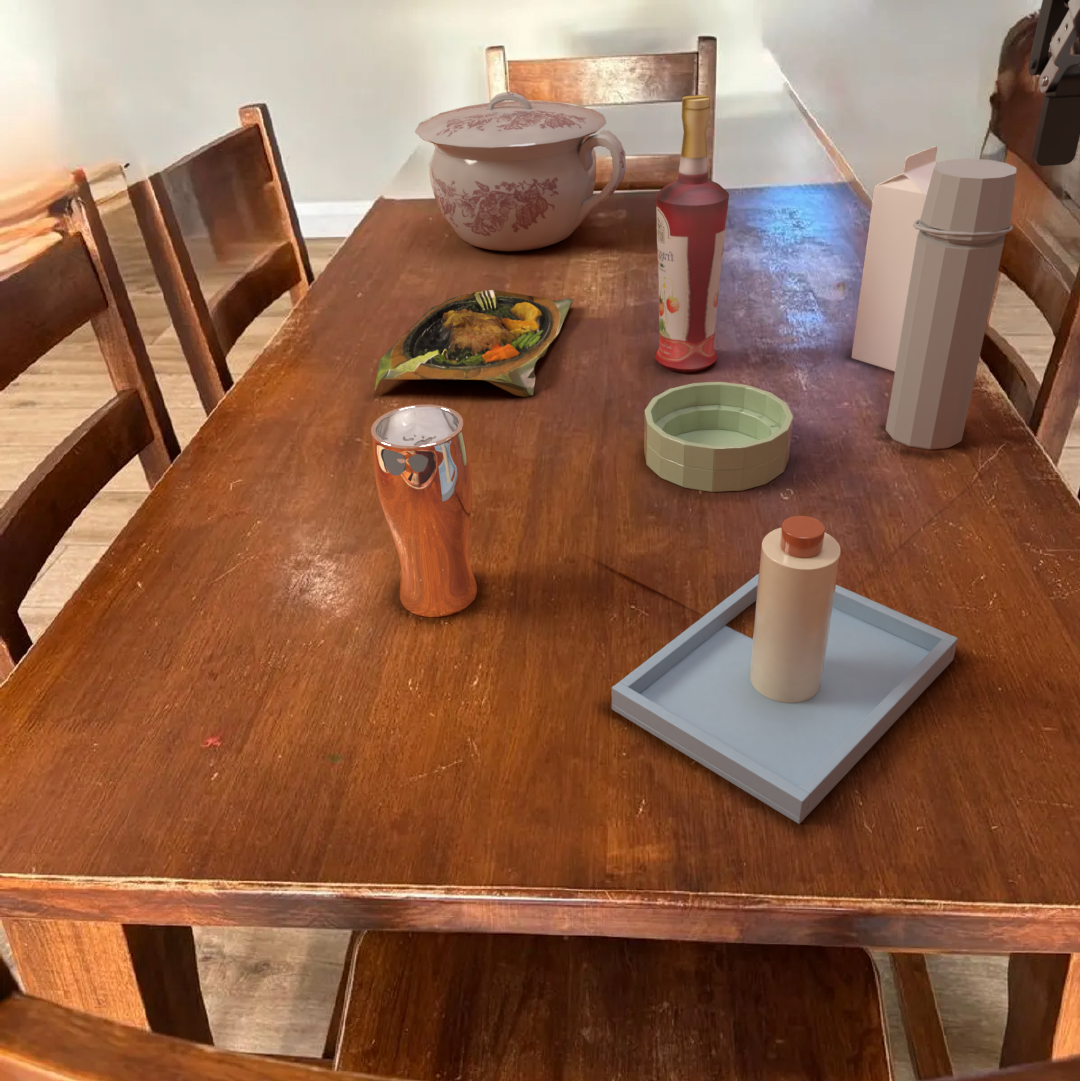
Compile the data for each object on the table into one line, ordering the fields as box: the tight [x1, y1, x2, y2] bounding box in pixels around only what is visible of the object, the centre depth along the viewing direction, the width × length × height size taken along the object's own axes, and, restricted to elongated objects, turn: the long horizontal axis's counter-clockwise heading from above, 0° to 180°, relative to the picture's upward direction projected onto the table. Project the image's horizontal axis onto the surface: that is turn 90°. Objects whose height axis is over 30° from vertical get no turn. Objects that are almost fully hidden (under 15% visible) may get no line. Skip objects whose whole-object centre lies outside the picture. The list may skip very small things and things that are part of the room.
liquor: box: [654, 94, 730, 374], centre depth 105 cm, size 7×7×28 cm
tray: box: [611, 573, 959, 825], centre depth 69 cm, size 20×15×2 cm
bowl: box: [643, 381, 794, 493], centre depth 94 cm, size 13×13×5 cm
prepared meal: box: [373, 289, 575, 398], centre depth 119 cm, size 28×4×18 cm
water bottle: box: [885, 158, 1018, 451], centre depth 91 cm, size 9×8×25 cm
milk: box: [851, 145, 938, 373], centre depth 106 cm, size 6×6×22 cm
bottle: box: [750, 515, 842, 703], centre depth 66 cm, size 5×5×12 cm
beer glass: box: [370, 403, 478, 618], centre depth 76 cm, size 7×7×15 cm
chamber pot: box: [414, 91, 627, 253], centre depth 148 cm, size 28×28×21 cm
